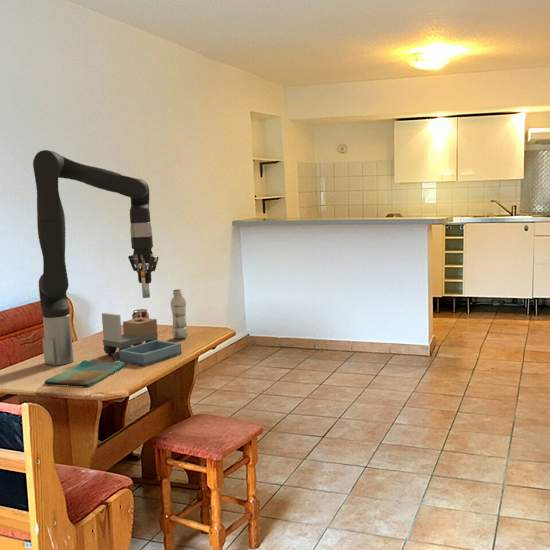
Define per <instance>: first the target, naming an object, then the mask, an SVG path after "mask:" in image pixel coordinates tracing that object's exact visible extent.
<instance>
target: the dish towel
mask: <svg viewBox="0 0 550 550" xmlns="http://www.w3.org/2000/svg"><path fill="white" fill-rule="evenodd" d="M125 366H126V363H124V362H121V361H120V360H119V361H101V362H99V361H89V360H86V359H85V360H81V362H80V363H79V364H77V365H76V366H73V367H70V368H68V369H65V370H63V371H62V372H60V373H57V374H55V375H54V376H52V377H49V378H47V379H45V380H44V383H43V384H44V385H45V384H47V385H46V386H55V385H66V386H65V387H74V386H82V387H81V388H91V387H92V386H95V385H96V384H99V383H100V382H101V381H103V380H105V379H107V378H108V376H109V377H110V375H111V376H112V375H114V374H116V373H118V372H119V371H122V369H124V368H125ZM117 371H118V372H117ZM115 372H116V373H115ZM67 385H68V386H67Z"/></svg>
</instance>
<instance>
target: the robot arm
mask: <svg viewBox="0 0 550 550" xmlns="http://www.w3.org/2000/svg"><path fill="white" fill-rule="evenodd" d="M32 168H33V173H34V179H35V185H36V186H35V187H36V188H35V189H36V218H37V219H36V221H37V223H36V224H37V235H38V241H39V245H40V249H41V254H42V261H43V264H42V265H43V267H42V268H43V269H42V272H43V273H42V274H41V275H40V277H39V278H38V279H39V280H38V293H39V302H40V308H41V312H42V313H41V314H42V322H43V334H44V335H43V336H44V337H42V348H43V349H42V350H43V359H44V360H43V361H44V364H45V365H50V366H53V367H54V366H60V365H67V364H69V363H70V364H71V363H72V362H74V360H75V359H74V349H73V347H74V346H73V334H72V326H71V325H72V324H71V314H70V312H71V310H70V305H69V302H68V297H67V291H68V289H69V279H68V272H67V264H66V218H65V217H66V216H65V212H64V211H65V210H64V207H63V204H62V200H61V197H60V192H59V179H67V180H73V181H76V182H81V183H84V184H86V185H88V186H90V187H93V188H97V189H99V190H100V189H101V190H103V191H106V192H111V193H117V194H120V195H122V196H124V197H128V198H130V209H129V221H130V222H129V223H130V227H129V228H130V243H131V249H132V250H133V254H132V255H128V257H127V258H128V261H129V263H130V265H131V269H132V271H134V272H136V273H137V281H138V283H139V284H142V283H141V272H140V270H144V271H145V283H146V284H149V285H150V284H151V283H152V272H155V271H156V268H157V265H158V261H159V256H158V255H155V254H154V252H153V251H152V248H153V247H154V243H153V242H154V241H153V229H152V224H151V223H152V222H151V213H150V187H149V184H148V182H147V181H146V180H144V179H141V178H136V177H131V176H127V175H122V174H120V173H118V172H115V171H112V170H108V169H105V168H101V167H97V166H92V165H86V164H83V163H79V162H77V161H74V160H72V159H69V158H67V157H65V156H62V155H60V153H57V152H56V151H53V150H49V149H47V150H46V149H43V150H41V151H38V152H37V153H36V154H35V155H34V157H33V161H32Z"/></svg>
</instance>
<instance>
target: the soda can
mask: <svg viewBox="0 0 550 550" xmlns="http://www.w3.org/2000/svg"><path fill="white" fill-rule="evenodd" d="M132 312H133V313H132V315H131V318H132V319H136V318H140V317H142V318H150V314H149V312H148V309H147V308H145V309H144V308H140V309H134V310H133V311H132ZM132 319H131V320H132Z"/></svg>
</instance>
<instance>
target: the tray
mask: <svg viewBox="0 0 550 550" xmlns="http://www.w3.org/2000/svg"><path fill="white" fill-rule="evenodd" d="M118 352H119V357H120V360H119V362H120V361H121V362H124V363H125V364H129V365H134V366H135V365H136V366H141V367H147V366H151V365H153V364H156V363H160V362H163V361H165V360H169V359H172V358H174V357H178V356H181V355H182V343H179V342H171V341H165V340H160V339H157V340H154V341H151V342H147V343H142V344H141V345H137V346H131V347H130V348H127V349H123V350H120V351H119V350H118ZM177 355H178V356H177Z"/></svg>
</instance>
